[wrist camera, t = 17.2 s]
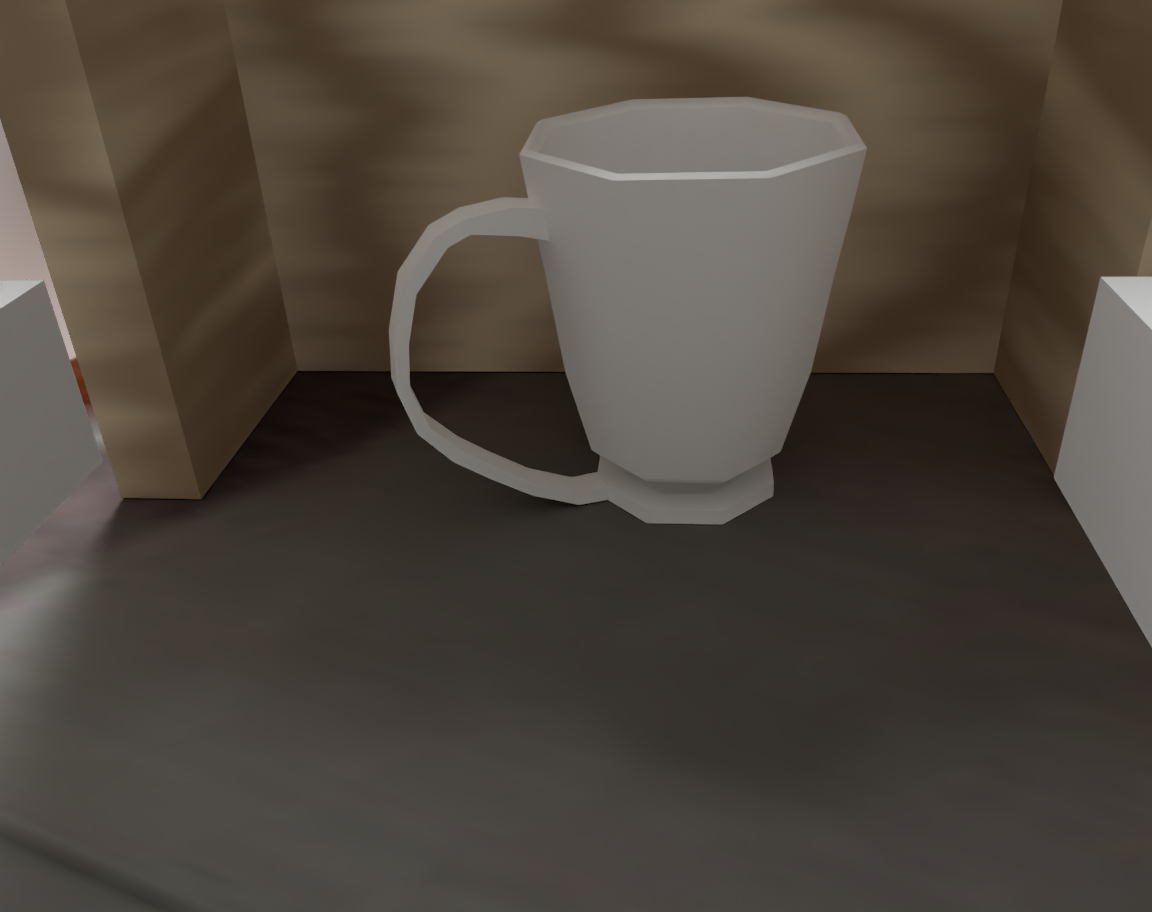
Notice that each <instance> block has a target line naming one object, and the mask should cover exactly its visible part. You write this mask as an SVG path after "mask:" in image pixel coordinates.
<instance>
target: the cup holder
mask: <svg viewBox="0 0 1152 912" xmlns="http://www.w3.org/2000/svg"><path fill="white" fill-rule="evenodd" d="M712 97H752V98H757V99H763V100H769V101H775V102H781V103H787V104H792V105H798V106H804V107H810V108H816V109H822V110H828V111H833V112H839V113H842V114H844V115H846V116H847V117H848V118H849V120H850V122H851V123H852V125H853V126H854V128H855V130H856V131H857V133H858V134H859V136H860V138H861V139H862V141H863V142H864V144H865V146H866V147H867V151H866V155H865V159H864V163H863V167H862V171H861V175H860V179H859V183H858V187H857V191H856V195H855V200H854V204H853V208H852V212H851V215H850V219H849V223H848V226H847V230H846V234H845V238H844V241H843V245H842V249H841V252H840V256H839V260H838V263H837V267H836V271H835V275H834V279H833V283H832V287H831V291H830V296H829V300H828V304H827V308H826V312H825V316H824V320H823V324H822V329H821V333H820V337H819V341H818V345H817V349H816V353H815V357H814V362H813V366H812V370H811V373H994V375H995V377H996V378H997V380H998V382H999V383H1000V385H1001V387H1002V388H1003V390H1004V392H1005V393H1006V395H1007V397H1008V398H1009V400H1010V402H1011V403H1012V405H1013V407H1014V409H1015V410H1016V412H1017V414H1018V415H1019V417H1020V419H1021V420H1022V422H1023V424H1024V425H1025V427H1026V429H1027V430H1028V432H1029V434H1030V435H1031V437H1032V439H1033V440H1034V442H1035V444H1036V446H1037V447H1038V449H1039V451H1040V452H1041V454H1042V456H1043V457H1044V459H1045V461H1046V462H1047V464H1048V466H1049V467H1050V469H1051V471H1052V472H1053V474H1055V470H1056V465H1057V461H1058V457H1059V452H1060V448H1061V444H1062V440H1063V435H1064V431H1065V427H1066V423H1067V418H1068V414H1069V410H1070V405H1071V401H1072V397H1073V393H1074V388H1075V384H1076V380H1077V375H1078V371H1079V367H1080V363H1081V358H1082V354H1083V350H1084V345H1085V341H1086V337H1087V333H1088V328H1089V324H1090V320H1091V315H1092V311H1093V307H1094V303H1095V298H1096V294H1097V290H1098V285H1099V281H1100V277H1152V0H0V119H1V122H2V126H3V129H4V132H5V135H6V138H7V141H8V144H9V147H10V150H11V154H12V156H13V160H14V163H15V166H16V169H17V172H18V175H19V179H20V182H21V185H22V188H23V191H24V194H25V197H26V200H27V203H28V207H29V209H30V213H31V216H32V219H33V222H34V225H35V229H36V232H37V235H38V238H39V241H40V244H41V247H42V250H43V254H44V257H45V260H46V263H47V266H48V269H49V272H50V275H51V279H52V281H53V284H54V288H55V291H56V294H57V297H58V300H59V304H60V306H61V310H62V313H63V316H64V319H65V322H66V325H67V328H68V331H69V335H70V338H71V341H72V344H73V347H74V350H75V353H76V357H77V360H78V363H79V366H80V369H81V372H82V375H83V378H84V382H85V385H86V388H87V391H88V394H89V397H90V400H91V403H92V407H93V410H94V413H95V416H96V419H97V422H98V425H99V428H100V432H101V435H102V438H103V441H104V444H105V447H106V450H107V453H108V456H109V460H110V463H111V466H112V469H113V472H114V475H115V478H116V481H117V485H118V488H119V491H120V494H121V497H122V498H166V499H202V498H203V496H204V495H205V494H206V492H207V491H208V490H209V488H210V487H211V486H212V484H213V483H214V482H215V480H216V479H217V478H218V476H219V475H220V474H221V472H222V471H223V470H224V468H225V467H226V466H227V464H228V463H229V462H230V460H231V459H232V458H233V456H234V455H235V454H236V452H237V451H238V450H239V448H240V447H241V446H242V444H243V443H244V442H245V440H246V439H247V438H248V436H249V435H250V434H251V432H252V431H253V430H254V428H255V427H256V426H257V424H258V423H259V422H260V420H261V419H262V418H263V416H264V415H265V414H266V412H267V411H268V410H269V408H270V407H271V406H272V404H273V403H274V402H275V400H276V399H277V398H278V396H279V395H280V394H281V392H282V391H283V390H284V388H285V387H286V386H287V384H288V383H289V382H290V380H291V379H292V378H293V376H294V375H295V374H296V372H297V371H391V363H390V344H389V325H390V318H391V312H392V305H393V299H394V292H395V286H396V279H397V273H398V270H399V269H400V267H401V266H402V264H403V263H404V261H405V260H406V258H407V257H408V255H409V254H410V252H411V251H412V249H413V248H414V246H415V245H416V243H417V242H418V240H419V239H420V237H421V236H422V234H423V233H424V231H425V229H426V228H427V226H428V225H429V224H431V223H433V222H435V221H436V220H438V219H440V218H442V217H443V216H445V215H447V214H448V213H450V212H452V211H454V210H455V209H457V208H459V207H463V206H467V205H472V204H476V203H480V202H484V201H488V200H493V199H497V198H501V197H511V198H528V194H527V190H526V185H525V180H524V175H523V170H522V166H521V161H520V156H519V154H520V152H521V151H522V149H523V147H524V145H525V143H526V141H527V139H528V138H529V136H530V134H531V132H532V130H533V128H534V126H535V125H536V123H537V122H539V121H541V120H542V119H546V118H551V117H555V116H560V115H564V114H569V113H573V112H578V111H582V110H587V109H591V108H596V107H600V106H605V105H609V104H614V103H618V102H623V101H627V100H631V99H670V98H712ZM409 367H410V371H486V372H565V369H564V364H563V359H562V354H561V349H560V344H559V339H558V334H557V329H556V324H555V319H554V315H553V310H552V305H551V300H550V295H549V290H548V285H547V280H546V275H545V271H544V266H543V262H542V257H541V253H540V249H539V244H538V240H537V239H534V238H528V237H522V236H498V235H469V236H468V237H466V238H464V239H462V240H461V241H459V242H457V243H455V244H453V245H452V246H450V247H448V248H447V250H446V251H445V253H444V254H443V256H442V257H441V259H440V260H439V262H438V263H437V265H436V266H435V268H434V269H433V271H432V272H431V274H430V275H429V277H428V278H427V280H426V281H425V283H424V284H423V286H422V287H421V289H420V290H419V292H418V293H417V295H416V301H415V308H414V314H413V321H412V327H411V334H410V341H409Z"/></svg>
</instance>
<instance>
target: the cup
mask: <svg viewBox="0 0 1152 912" xmlns="http://www.w3.org/2000/svg"><path fill="white" fill-rule="evenodd" d="M866 151H867V147H866V146H865V144H864V142H863V141H862V139H861V138H860V136H859V134H858V133H857V131H856V130H855V128H854V126H853V125H852V123H851V122H850V120H849V118H848V117H847V116H846V115H844V114H842V113H839V112H833V111H828V110H822V109H816V108H810V107H804V106H798V105H792V104H787V103H781V102H775V101H769V100H763V99H757V98H752V97H712V98H670V99H631V100H627V101H623V102H618V103H614V104H609V105H605V106H600V107H596V108H591V109H587V110H582V111H578V112H573V113H569V114H564V115H560V116H555V117H551V118H546V119H542V120H541V121H539V122H537V123H536V125H535V126H534V128H533V130H532V132H531V134H530V136H529V138H528V139H527V141H526V143H525V145H524V147H523V149H522V151H521V152H520V154H519V156H520V161H521V166H522V170H523V175H524V180H525V185H526V190H527V194H528V198H511V197H501V198H497V199H493V200H488V201H484V202H480V203H476V204H472V205H467V206H463V207H459V208H457V209H455V210H454V211H452V212H450V213H448V214H447V215H445V216H443V217H442V218H440V219H438V220H436V221H435V222H433V223H431V224H429V225H428V226H427V228H426V229H425V231H424V233H423V234H422V236H421V237H420V239H419V240H418V242H417V243H416V245H415V246H414V248H413V249H412V251H411V252H410V254H409V255H408V257H407V258H406V260H405V261H404V263H403V264H402V266H401V267H400V269H399V270H398V273H397V279H396V286H395V292H394V299H393V305H392V312H391V318H390V325H389V344H390V363H391V378H392V381H393V383H394V386H395V389H396V392H397V394H398V396H399V398H400V400H401V402H402V404H403V406H404V408H405V410H406V412H407V414H408V416H409V418H410V420H411V422H412V424H413V426H414V428H415V430H416V432H417V434H418V435H419V436H420V437H422V438H423V439H424V440H426V441H427V442H428V443H429V444H431V445H432V446H433V447H435V448H436V449H437V450H438V451H440V452H441V453H442V454H444V455H445V456H446V457H447V458H449V459H450V460H451V461H453V462H454V463H456V464H459V465H461V466H463V467H465V468H467V469H470V470H472V471H474V472H476V473H478V474H481V475H483V476H485V477H487V478H489V479H492V480H494V481H497V482H499V483H502V484H504V485H507V486H509V487H512V488H514V489H517V490H519V491H522V492H525V493H527V494H530V495H532V496H537V497H542V498H547V499H552V500H557V501H562V502H567V503H572V504H577V505H581V504H587V503H593V502H599V501H604V500H609V501H610V502H612V503H614V504H615V505H617V506H619V507H620V508H622V509H624V510H625V511H627V512H629V513H630V514H632V515H634V516H635V517H637V518H639V519H640V520H642V521H644V522H645V523H663V524H720V525H723V524H725V523H726V522H728V521H730V520H732V519H733V518H735V517H737V516H739V515H741V514H742V513H744V512H746V511H748V510H749V509H751V508H753V507H755V506H756V505H758V504H760V503H762V502H764V501H765V500H767V499H769V498H771V497H772V496H773V491H774V478H773V472H772V465H771V457H773V456H774V455H776V454H778V453H779V452H781V449H782V447H783V444H784V442H785V439H786V436H787V434H788V431H789V428H790V426H791V423H792V420H793V418H794V415H795V413H796V410H797V407H798V405H799V402H800V399H801V397H802V394H803V392H804V389H805V386H806V384H807V381H808V378H809V376H810V373H811V370H812V366H813V362H814V357H815V353H816V349H817V345H818V341H819V337H820V333H821V329H822V324H823V320H824V316H825V312H826V308H827V304H828V300H829V296H830V291H831V287H832V283H833V279H834V275H835V271H836V267H837V263H838V260H839V256H840V252H841V249H842V245H843V241H844V238H845V234H846V230H847V226H848V223H849V219H850V215H851V212H852V208H853V204H854V200H855V195H856V191H857V187H858V183H859V179H860V175H861V171H862V167H863V163H864V159H865V155H866ZM469 235H498V236H522V237H528V238H534V239H537V240H538V244H539V249H540V253H541V257H542V262H543V266H544V271H545V275H546V280H547V285H548V290H549V295H550V300H551V305H552V310H553V315H554V319H555V324H556V329H557V334H558V339H559V344H560V349H561V354H562V359H563V364H564V369H565V373H566V376H567V379H568V382H569V385H570V388H571V391H572V394H573V396H574V399H575V402H576V405H577V408H578V411H579V414H580V417H581V420H582V423H583V426H584V429H585V432H586V435H587V438H588V441H589V444H590V447H591V450H592V451H594V452H595V453H597V454H599V455H600V459H599V467H598V472H594V473H589V474H584V475H580V476H575V477H568V476H563V475H559V474H554V473H549V472H544V471H540V470H535V469H530V468H527V467H525V466H522V465H520V464H518V463H515V462H513V461H511V460H508V459H506V458H504V457H501V456H499V455H496V454H494V453H492V452H489V451H487V450H485V449H483V448H481V447H479V446H477V445H475V444H473V443H471V442H469V441H467V440H464V439H462V438H460V437H458V436H457V435H455V434H454V433H452V432H451V431H450V430H448V429H447V428H445V427H444V426H443V425H441V424H440V423H438V422H437V421H435V420H434V419H433V418H431V417H430V416H428V415H427V414H425V413H424V412H423V410H422V408H421V406H420V404H419V402H418V400H417V398H416V396H415V394H414V392H413V390H412V388H411V386H410V367H409V341H410V334H411V327H412V321H413V314H414V308H415V301H416V295H417V293H418V292H419V290H420V289H421V287H422V286H423V284H424V283H425V281H426V280H427V278H428V277H429V275H430V274H431V272H432V271H433V269H434V268H435V266H436V265H437V263H438V262H439V260H440V259H441V257H442V256H443V254H444V253H445V251H446V250H447V248H448V247H450V246H452V245H453V244H455V243H457V242H459V241H461V240H462V239H464V238H466V237H468V236H469Z"/></svg>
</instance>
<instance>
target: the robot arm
mask: <svg viewBox="0 0 1152 912" xmlns="http://www.w3.org/2000/svg"><path fill="white" fill-rule="evenodd" d="M102 462H103V461H102V458H101V455H100V452H99V449H98V446H97V443H96V440H95V437H94V434H93V431H92V427H91V424H90V421H89V418H88V415H87V412H86V409H85V406H84V403H83V400H82V397H81V393H80V390H79V387H78V384H77V381H76V378H75V375H74V372H73V369H72V366H71V363H70V360H69V356H68V353H67V350H66V347H65V344H64V341H63V338H62V335H61V332H60V329H59V326H58V322H57V319H56V317H55V313H54V310H53V307H52V304H51V301H50V298H49V295H48V292H47V288H46V286H45V283H44V280H0V567H1V566H2V565H3V564H4V563H5V562H6V561H7V560H8V558H9V557H10V556H11V555H12V554H13V553H14V552H15V551H16V550H17V549H18V548H19V547H20V546H21V545H22V544H23V543H24V542H25V541H26V540H27V539H28V538H29V537H30V536H31V535H32V534H33V533H34V532H35V531H36V530H37V529H38V528H39V527H40V526H41V525H42V524H43V523H44V521H45V520H46V519H47V518H48V517H49V516H50V515H51V514H52V513H53V512H54V511H55V510H56V509H57V508H58V507H59V506H60V505H61V504H62V503H63V502H64V501H65V500H66V499H67V498H68V497H69V496H70V495H71V494H72V493H73V492H74V491H75V490H76V489H77V488H78V487H79V485H80V484H81V483H82V482H83V481H84V480H85V479H86V478H87V477H88V476H89V475H90V474H91V473H92V472H93V471H94V470H95V469H96V468H97V467H98V466H99V465H100V464H101V463H102ZM1054 479H1055V481H1056V483H1057V485H1058V486H1059V488H1060V490H1061V492H1062V493H1063V495H1064V497H1065V498H1066V500H1067V502H1068V504H1069V505H1070V507H1071V509H1072V511H1073V512H1074V514H1075V516H1076V517H1077V519H1078V521H1079V523H1080V524H1081V526H1082V528H1083V530H1084V531H1085V533H1086V535H1087V536H1088V538H1089V540H1090V542H1091V543H1092V545H1093V547H1094V549H1095V550H1096V552H1097V554H1098V556H1099V557H1100V559H1101V561H1102V562H1103V564H1104V566H1105V568H1106V569H1107V571H1108V573H1109V575H1110V576H1111V578H1112V580H1113V581H1114V583H1115V585H1116V587H1117V588H1118V590H1119V592H1120V594H1121V595H1122V597H1123V599H1124V600H1125V602H1126V604H1127V606H1128V607H1129V609H1130V611H1131V613H1132V614H1133V616H1134V618H1135V620H1136V621H1137V623H1138V625H1139V626H1140V628H1141V630H1142V632H1143V633H1144V635H1145V637H1146V639H1147V640H1148V642H1149V644H1150V645H1151V647H1152V277H1100V281H1099V285H1098V290H1097V294H1096V298H1095V303H1094V307H1093V311H1092V315H1091V320H1090V324H1089V328H1088V333H1087V337H1086V341H1085V345H1084V350H1083V354H1082V358H1081V363H1080V367H1079V371H1078V375H1077V380H1076V384H1075V388H1074V393H1073V397H1072V401H1071V405H1070V410H1069V414H1068V418H1067V423H1066V427H1065V431H1064V435H1063V440H1062V444H1061V448H1060V452H1059V457H1058V461H1057V465H1056V470H1055V474H1054Z"/></svg>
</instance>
